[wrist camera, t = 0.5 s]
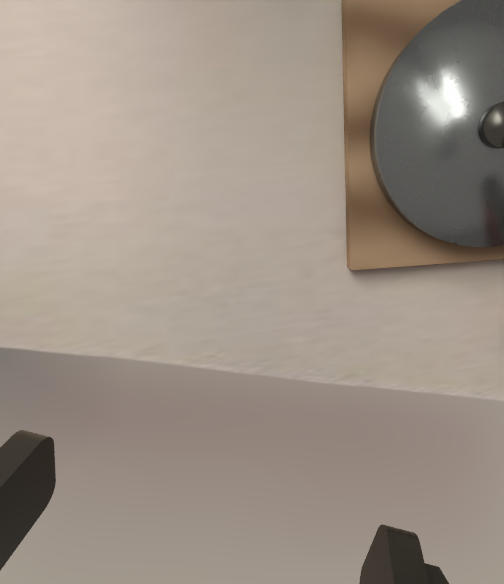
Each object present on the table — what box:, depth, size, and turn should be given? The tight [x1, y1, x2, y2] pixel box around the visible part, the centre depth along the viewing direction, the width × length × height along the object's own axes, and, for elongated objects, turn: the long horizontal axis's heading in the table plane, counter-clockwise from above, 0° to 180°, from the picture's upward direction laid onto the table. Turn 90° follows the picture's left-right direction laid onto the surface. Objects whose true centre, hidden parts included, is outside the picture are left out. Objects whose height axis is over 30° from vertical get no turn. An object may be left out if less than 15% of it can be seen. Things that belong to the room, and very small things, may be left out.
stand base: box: [342, 0, 504, 270], centre depth 31 cm, size 20×20×2 cm
